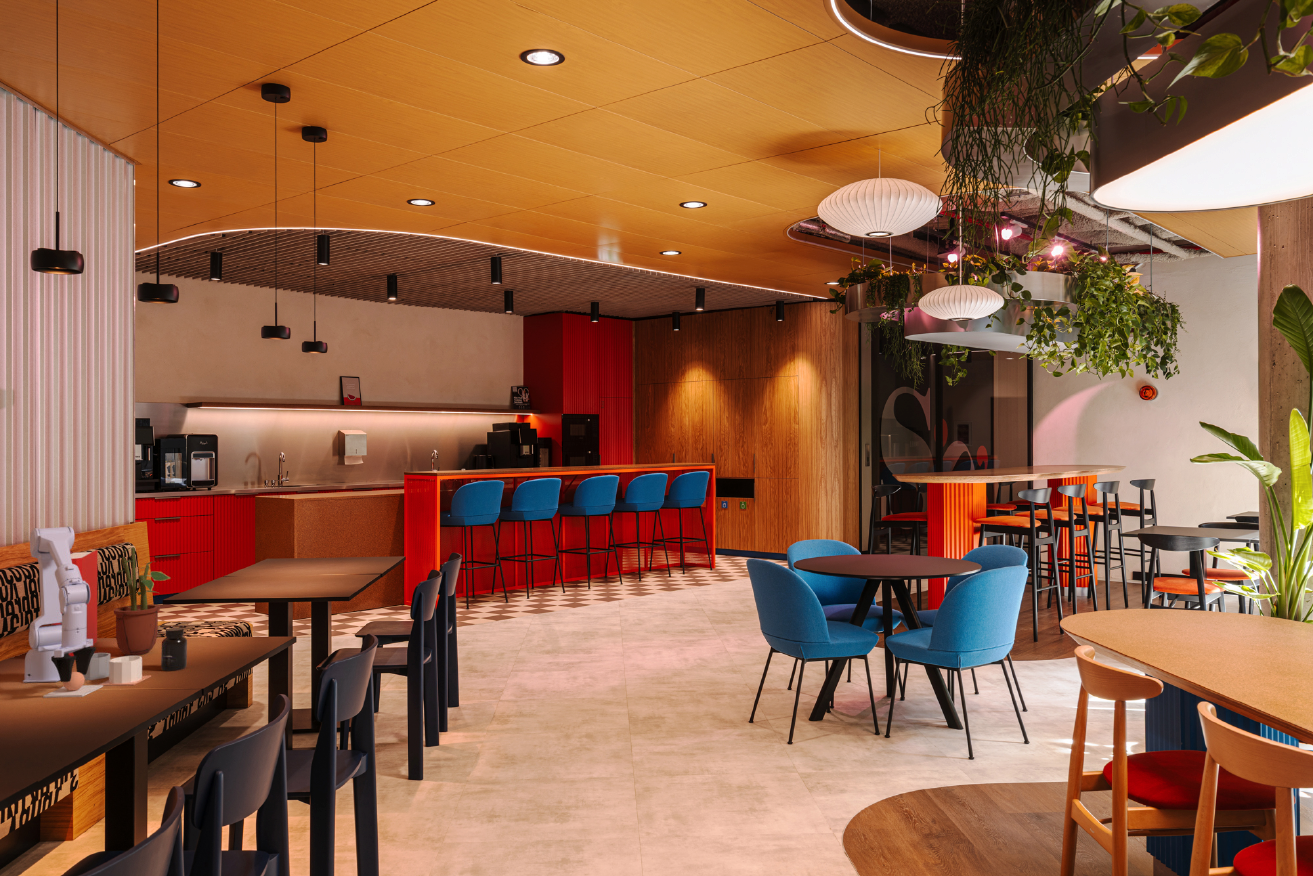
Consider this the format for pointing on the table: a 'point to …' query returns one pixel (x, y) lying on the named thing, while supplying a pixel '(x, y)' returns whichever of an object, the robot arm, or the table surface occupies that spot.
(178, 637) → the supplement bottle
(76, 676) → the terracotta ball
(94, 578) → the book
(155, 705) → the table surface
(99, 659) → the grey faceted cup
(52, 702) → the table surface
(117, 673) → the tube
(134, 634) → the potted plant
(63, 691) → the ball mat
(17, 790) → the table surface
